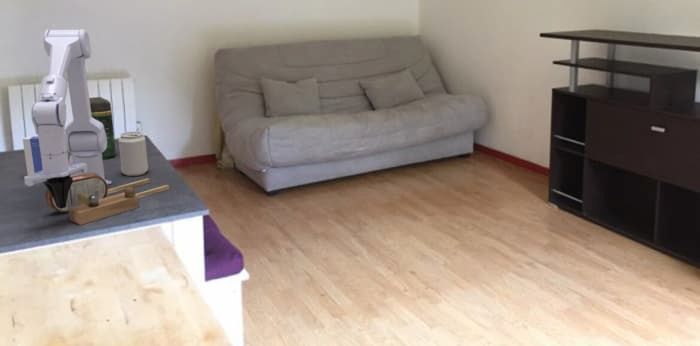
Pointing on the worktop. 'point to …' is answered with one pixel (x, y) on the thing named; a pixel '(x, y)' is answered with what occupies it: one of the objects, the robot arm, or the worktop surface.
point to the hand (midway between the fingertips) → (61, 207)
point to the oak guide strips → (138, 185)
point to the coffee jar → (104, 122)
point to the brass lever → (88, 199)
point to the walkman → (32, 155)
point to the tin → (81, 190)
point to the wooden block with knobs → (105, 207)
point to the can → (133, 153)
